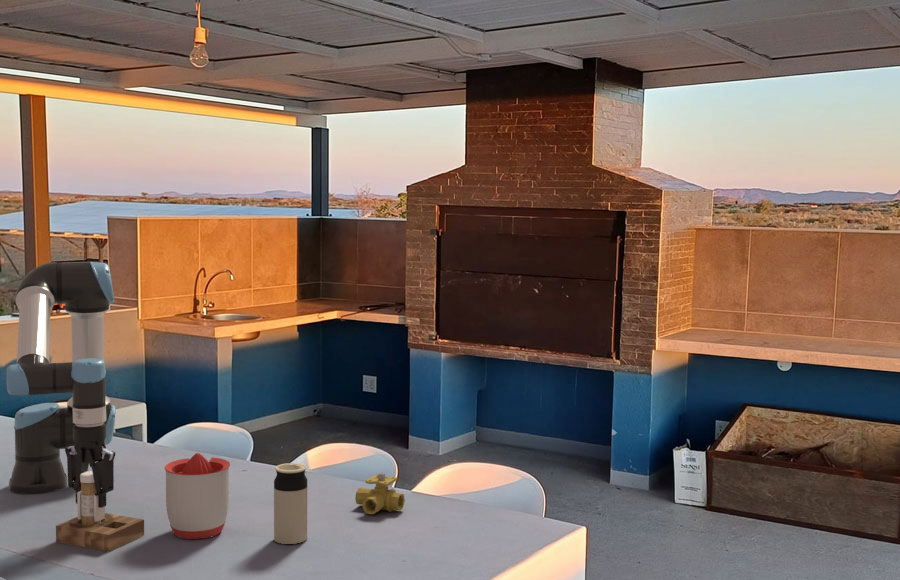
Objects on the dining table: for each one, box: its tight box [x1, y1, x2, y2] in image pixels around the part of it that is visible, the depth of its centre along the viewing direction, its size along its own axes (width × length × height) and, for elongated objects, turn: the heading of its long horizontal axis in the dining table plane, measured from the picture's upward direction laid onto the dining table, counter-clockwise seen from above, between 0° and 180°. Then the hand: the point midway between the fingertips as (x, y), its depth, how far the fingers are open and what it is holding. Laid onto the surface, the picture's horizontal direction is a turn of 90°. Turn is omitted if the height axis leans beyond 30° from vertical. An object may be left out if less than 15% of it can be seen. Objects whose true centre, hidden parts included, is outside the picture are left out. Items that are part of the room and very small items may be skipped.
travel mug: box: [273, 462, 308, 545], centre depth 225 cm, size 8×8×18 cm
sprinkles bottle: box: [80, 470, 101, 525], centre depth 225 cm, size 5×5×14 cm
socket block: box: [55, 512, 145, 553], centre depth 225 cm, size 16×12×4 cm
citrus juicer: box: [164, 452, 231, 540], centre depth 230 cm, size 16×17×20 cm
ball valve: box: [354, 472, 406, 515], centre depth 249 cm, size 13×10×10 cm
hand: (91, 518), depth 226 cm, fingers closed on sprinkles bottle, 4 cm apart
